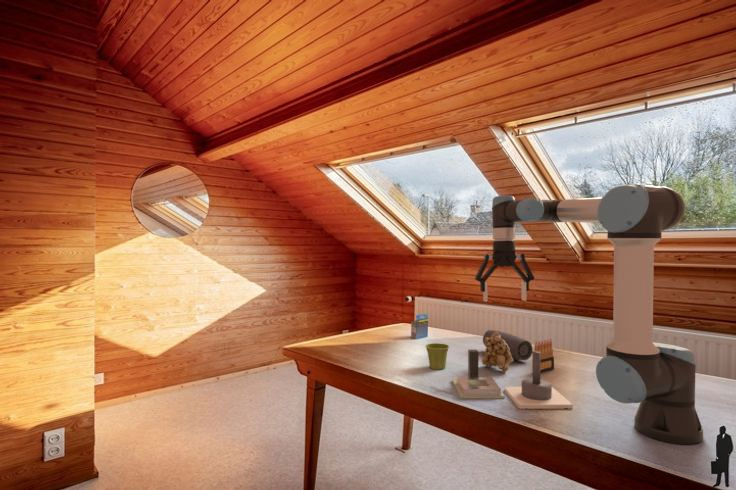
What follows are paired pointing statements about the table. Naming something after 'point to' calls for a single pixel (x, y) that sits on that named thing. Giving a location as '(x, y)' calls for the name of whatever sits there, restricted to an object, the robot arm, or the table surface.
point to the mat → (474, 395)
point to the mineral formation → (497, 352)
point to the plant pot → (437, 355)
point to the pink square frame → (476, 379)
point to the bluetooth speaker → (514, 345)
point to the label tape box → (419, 327)
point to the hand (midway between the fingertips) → (504, 300)
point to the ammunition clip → (545, 355)
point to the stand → (537, 391)
